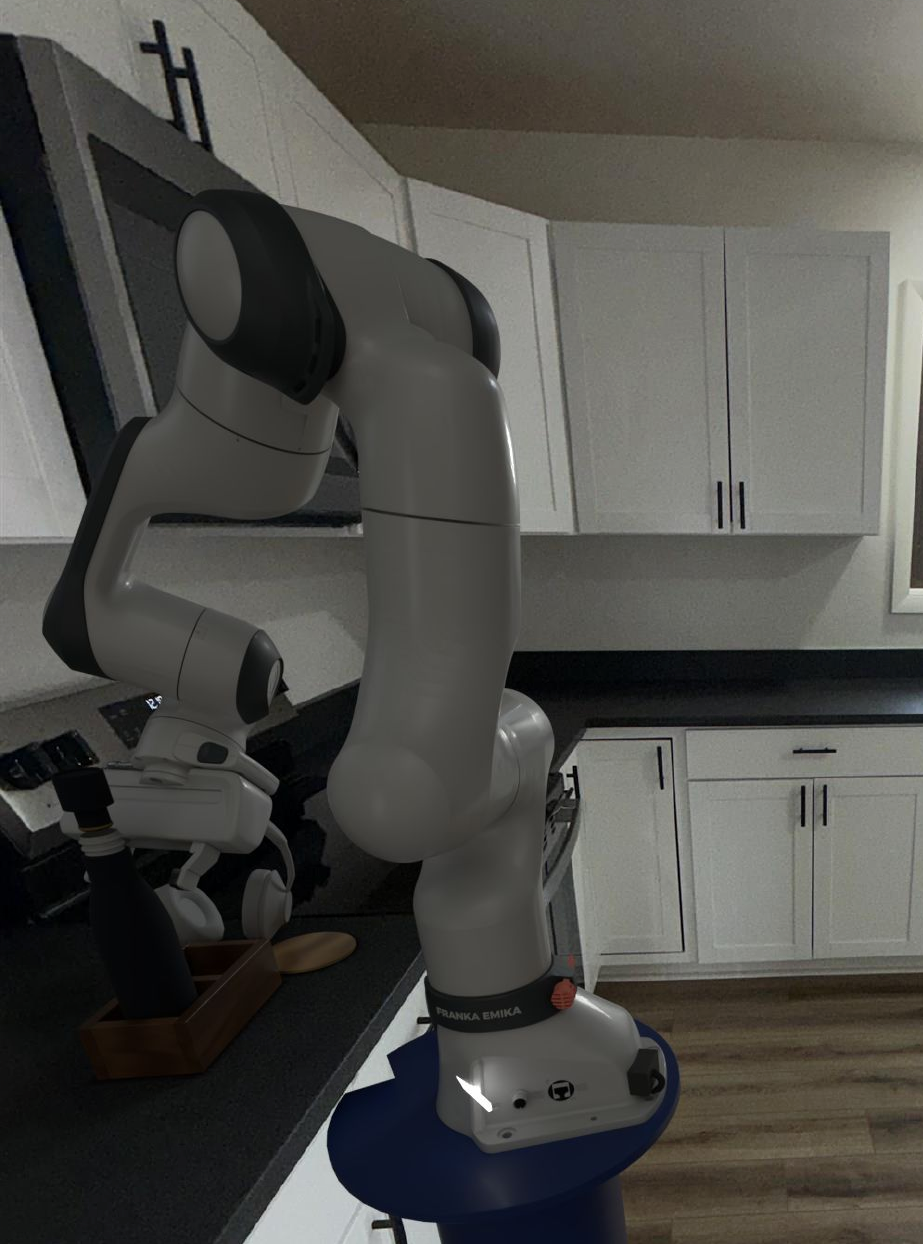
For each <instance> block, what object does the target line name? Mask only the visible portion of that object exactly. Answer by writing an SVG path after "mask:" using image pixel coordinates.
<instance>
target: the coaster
mask: <svg viewBox="0 0 923 1244" xmlns="http://www.w3.org/2000/svg"><path fill="white" fill-rule="evenodd" d="M356 947H357V941H356V938H354V936H352V935H350V934H349V933H345V932H340V931H319V932H311V933H306V934H302V935H297V936H294V937H290V938H288V939H285V940H283V941H280V942H277V943H276V944H274V945H272V948H273V952H274V955H275V959H276V962H277V966H278V969H279V972H280V975H281V974H282V975H288V974H289V975H291V974H300V973H307V972H312V971H316V970H320V969H324V968H326V967H330V966H332V965H334V964H337V963H339V962H341V961H342V960H344V959H346V958H347V957H349V956H350V955H351V954H352V953H353V952H354V951H355V949H356Z"/></svg>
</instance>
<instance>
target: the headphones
mask: <svg viewBox="0 0 923 1244" xmlns="http://www.w3.org/2000/svg"><path fill="white" fill-rule="evenodd" d="M264 836H265V837H266V838H267V839H269V840H270V842H272V844H274V846H276V847H277V848H278V850H280V853H281V855H282V858H283V861H284V864H285V866H286V873H287V880H286V881H287V882H286V886H285V884H284V881H283V880H282V878H281V876H280V874H279V872H278V871H277V869H273V870H272V871H271V870H270V869H263V868H256V869H255V870H253V871H251V873H250V875H249V876H248V879H247V881H246V883H245V888H244V892H243V898H242V905H241V927H242V932H243V935H244V936H245V938H247V940H250V939H268V938H269V939H270V940H272V938H273V937H274V936H275V935H276V933H277V932H278V931H279V929H280V928H281V927H282V926H283V925H285V924H288V922H289V921H290V918H291V914H292V909H293V908H292V907H293V894H292V891H291V889H292V886H293V882H294V880H295V877H296V873H295V866H294V865H295V864H294V861H293V857H292V853H291V850H290V848H289V845H288V840H287V838H286V836H285V835H284V834H283V832H282V830H280V829H279V828H278V827H277V826H276V825H275V823H273V822H272V821H271V820H269V822H268V825H267V828H266V831H265V834H264ZM129 848H130V847H129ZM135 849H136V848H130V850H131V852H132V855H133V856H134V851H135ZM153 890H154V891H155V892H156V894H157V895H158V897H159V898H160V900H161V901H162V903H163V904H164V906H165V908H166V909H167V911H168V913H169V915H170V916H171V918H172V920H173V923H174V926H175V929H176V932H177V935H178V938H179V941H180V943H193V942H212V941H222V939H223V938H224V932H225V926H224V923H223V919H222V915H221V914H220V912H219V910H218V908H217V906H216V905H215V904H214V902H213V901H212V900H211V899H210V897H209V896H207V894H206V893H205V892H204V891H202V890H201V889H200V888H198V887H197V886H196V889H195V890H194V891H182V890H177V889H176V888H172V887H171V886H169V882H168V883H166V884H164V885H161V886H159V887H158V888H155V889H153Z"/></svg>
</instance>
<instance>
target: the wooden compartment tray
mask: <svg viewBox="0 0 923 1244" xmlns="http://www.w3.org/2000/svg"><path fill="white" fill-rule="evenodd" d="M180 944H181V947H182V950H183V953H184V956H185V959H186V961H187V964H188V967H189V970H190V973H191V976H192V979H193V982H194V985H195V988H196V991H197V994H198V997H199V998H198V999H197V1000H196V1001H195V1002H194V1003H193V1004H192V1005H191V1006H190V1007H189V1008H188V1009H187V1010H186V1011H185V1012H184V1013H183V1014H182V1015H181V1016H180V1017H169V1018H153V1019H136V1020H125V1018H124V1016H123V1013H122V1011H121V1008H120V1005H119V1003H118V1000H117V998H116V996H114V997H113V998H112V999H111V1000H110V1001H108V1002H107V1003H106V1004H105V1005H103V1007H101V1008H100V1009H98V1011H96V1012H95V1013H93V1014H92V1016H90V1017H89V1018H88V1019H86V1021H84V1022H83V1023H82V1024H81V1025H79V1026H78V1027H77V1028H76V1032H77V1035H78V1037H79V1039H80V1042H81V1044H82V1046H83V1048H84V1051H85V1053H86V1056H87V1059H88V1061H89V1063H90V1065H91V1068H92V1070H93V1072H94V1075H95V1078H96V1080H97V1081H105V1080H119V1079H133V1078H148V1077H163V1076H176V1075H177V1076H178V1075H191V1074H203V1073H204V1072H205V1071H206V1070H207V1069H208V1067H210V1065H212V1063H213V1062H214V1061H215V1060H216V1059H217V1058H218V1056H219V1055H220V1054H221V1053H222V1052H223V1051H224V1049H225V1048H226V1047H227V1046H228V1045H229V1044H230V1043H231V1041H232V1040H233V1039H234V1038H235V1037H236V1036H237V1035H238V1034H239V1032H240V1031H242V1029H243V1028H244V1027H245V1026H246V1024H247V1023H248V1022H249V1021H250V1020H251V1019H252V1018H253V1017H254V1015H256V1013H257V1012H258V1011H259V1010H260V1009H261V1008H262V1006H264V1004H265V1003H266V1002H267V1001H268V1000H269V999H270V998H271V996H272V995H273V994H274V993H275V992H276V990H277V989H278V988H279V987H280V986H281V985H282V984H283V979H282V976H281V974H280V972H279V969H278V966H277V962H276V959H275V955H274V952H273V948H272V946H273V945H272V941H271V939H269V938H268V939H234V940H231V939H230V940H219V941H212V942H193V943H180Z"/></svg>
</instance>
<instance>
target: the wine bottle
mask: <svg viewBox="0 0 923 1244" xmlns="http://www.w3.org/2000/svg"><path fill="white" fill-rule="evenodd" d="M49 778H50V780H51V781H50V782H51V784H52V785H53V788H54V791H55V794H56V796H57V799H58V801H59V805H60V807H61V809H62V812H64V811H65V812H73V813H74V815H75V818H76V821H77V823H78V829H79V830H80V831H83V832H84V833H82V834H80V835H79V838H80V840H79V841H78V844H79V845H81V847H80V850H81V851H82V852H83V853H82V854H81V856H80V857H81V860H82V864H83V865H84V868H85V872H86V871H87V874H88V876H89V879H90V882H91V883H90V886H89V901H88V903H89V904H88V914H89V924H90V930H91V936H92V938H93V942H94V943H95V946H96V949H97V951H98V954H99V957H100V959H101V962H102V965H103V967H104V970H105V971H106V975H107V976H108V979H109V982H110V984H111V987H112V990H113V993H114V995H115V997H116V998H117V1000H118V1003H119V1005H120V1008H121V1011H122V1013H123V1016H124V1018H125V1020H136V1019H153V1018H169V1017H180V1016H181V1015H182V1014H183V1013H184V1012H185V1011H186V1010H187V1009H188V1008H189V1007H190V1006H191V1005H192V1004H193V1003H194V1002H195V1001H196V1000H197V999H198V998H199V997H198V994H197V991H196V988H195V985H194V982H193V979H192V976H191V973H190V970H189V967H188V964H187V961H186V959H185V956H184V953H183V950H182V947H181V944H180V941H179V938H178V935H177V932H176V929H175V926H174V923H173V920H172V918H171V916H170V915H169V913H168V911H167V909H166V908H165V906H164V904H163V903H162V901H161V900H160V898H159V897H158V895H157V894H156V892H155V891H154V890H155V889H153V887H152V886H151V885H150V884H149V883H148V882H147V880H146V879H145V878H144V877H143V876H142V875H141V874H140V872H139V870H138V867H137V864H136V861H135V858H134V854H133V855H132V852H131V850H130V848H129V847H128V846H125V845H124V843H125V841H124V840H123V839H122V838H121V837H122V836H123V835H122V833H120V832H119V830H118V829H117V828H110V827H111V826H112V825H113V824H114V823H113V820H111V817H110V814H109V812H108V809H107V807H108V806H110V805H112V804H113V803H114V799H113V796H112V793H111V790H110V788H109V785H108V782H107V779H106V776H105V773H104V771H103V769H102V768H100V767H99V766H82V767H73V768H68V769H64V770H60V771H56V772H54V773H52V774H51V775H50V776H49Z"/></svg>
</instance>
